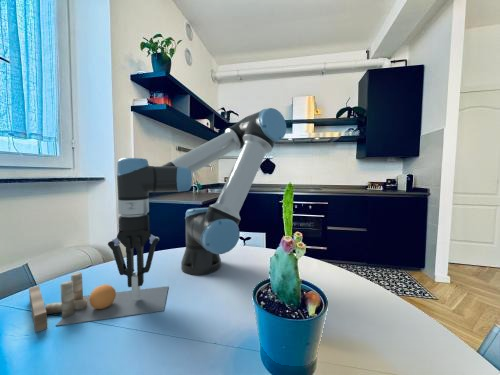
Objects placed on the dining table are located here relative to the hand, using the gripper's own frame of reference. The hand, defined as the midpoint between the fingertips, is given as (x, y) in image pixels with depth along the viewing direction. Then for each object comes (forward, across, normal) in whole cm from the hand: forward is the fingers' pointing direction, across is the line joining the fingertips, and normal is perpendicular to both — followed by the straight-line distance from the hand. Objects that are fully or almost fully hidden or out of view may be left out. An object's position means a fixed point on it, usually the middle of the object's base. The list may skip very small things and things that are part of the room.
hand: (136, 296), depth 63 cm
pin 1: (+1, -15, -2) cm, 16 cm away
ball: (-2, -8, -1) cm, 8 cm away
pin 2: (+1, -15, +2) cm, 16 cm away
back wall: (+1, -23, 0) cm, 23 cm away
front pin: (0, -12, 0) cm, 13 cm away
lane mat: (+1, -4, 0) cm, 4 cm away
